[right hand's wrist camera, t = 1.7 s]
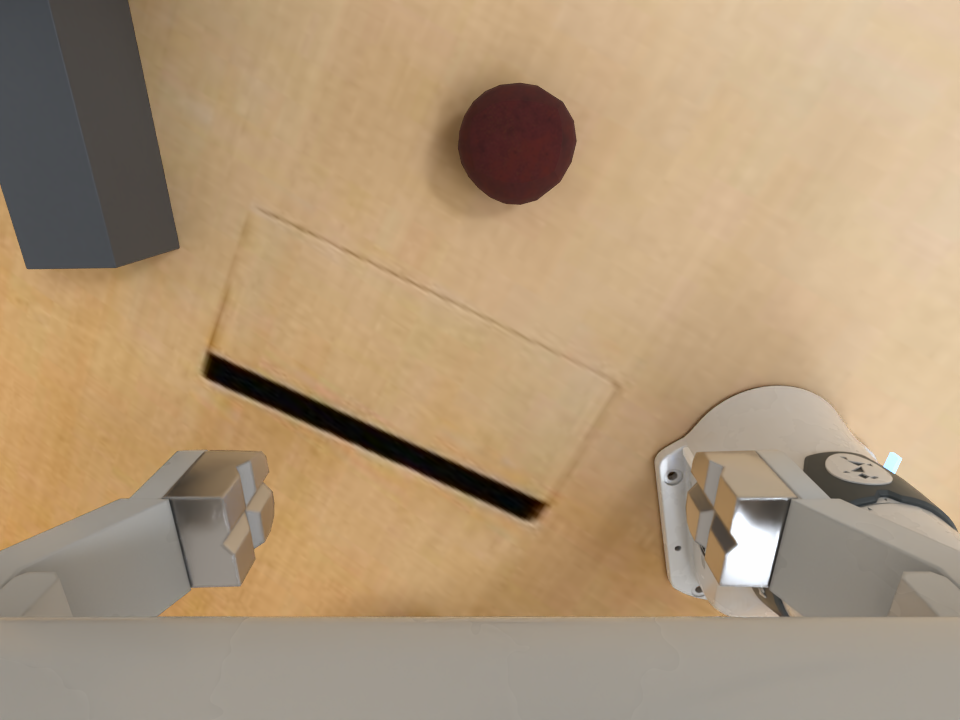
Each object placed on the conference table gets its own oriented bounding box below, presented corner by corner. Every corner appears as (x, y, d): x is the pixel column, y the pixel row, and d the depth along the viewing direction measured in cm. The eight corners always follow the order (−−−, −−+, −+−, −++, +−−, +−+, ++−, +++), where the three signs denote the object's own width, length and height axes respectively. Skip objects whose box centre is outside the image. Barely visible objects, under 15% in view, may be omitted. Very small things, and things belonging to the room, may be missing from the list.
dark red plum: (457, 92, 38) (452, 79, 31) (569, 87, 38) (588, 73, 31) (462, 202, 40) (458, 211, 34) (567, 198, 40) (584, 207, 34)
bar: (180, 248, 42) (116, 268, 34) (105, 249, 42) (26, 269, 35) (100, -133, 34) (-6, -212, 26) (8, -130, 34) (-124, -209, 26)
